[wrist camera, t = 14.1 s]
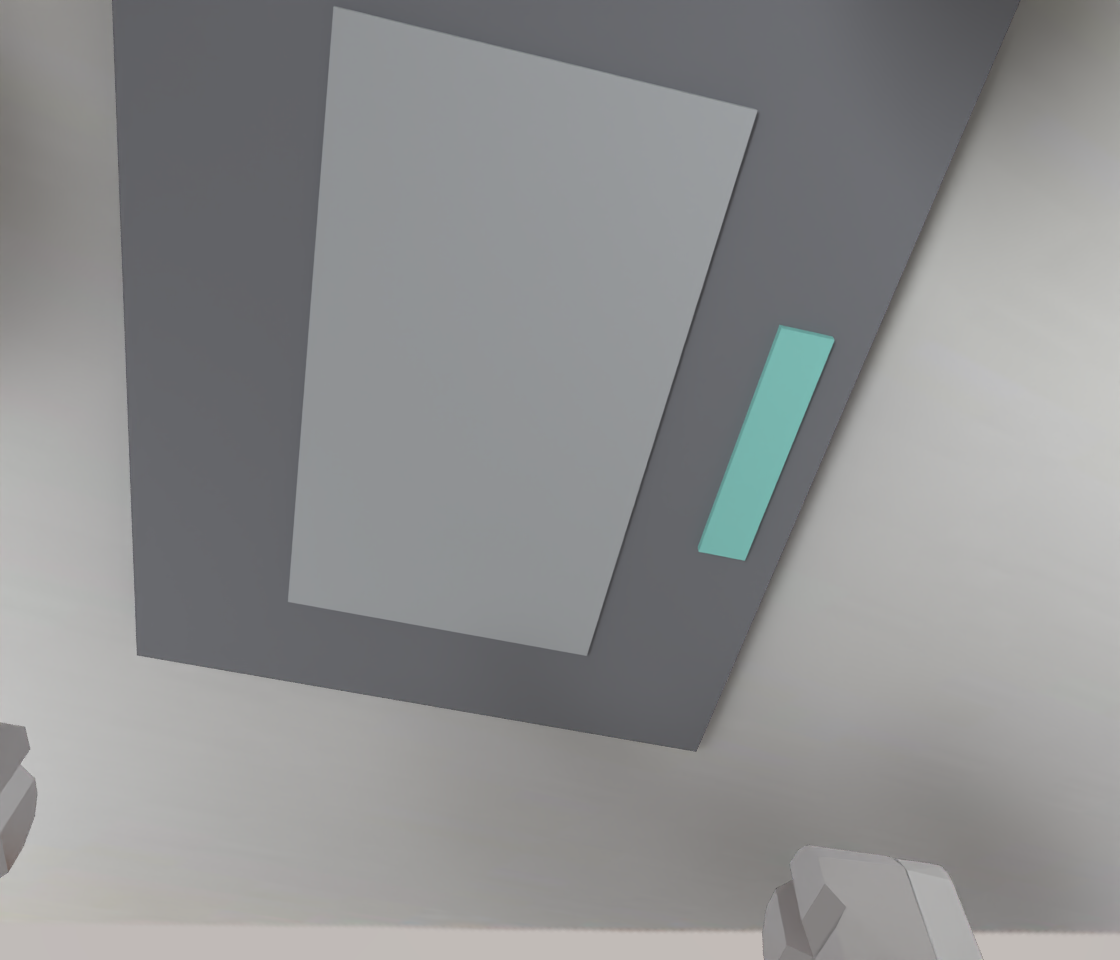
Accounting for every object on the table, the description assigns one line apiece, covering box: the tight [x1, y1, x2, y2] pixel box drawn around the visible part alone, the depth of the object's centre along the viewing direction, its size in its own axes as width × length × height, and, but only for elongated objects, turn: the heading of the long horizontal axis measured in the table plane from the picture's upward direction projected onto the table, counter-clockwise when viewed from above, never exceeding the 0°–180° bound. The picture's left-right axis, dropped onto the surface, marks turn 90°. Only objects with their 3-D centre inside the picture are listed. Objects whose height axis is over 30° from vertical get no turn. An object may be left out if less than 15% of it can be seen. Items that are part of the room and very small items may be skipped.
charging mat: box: [112, 0, 1020, 752], centre depth 20 cm, size 20×16×1 cm
